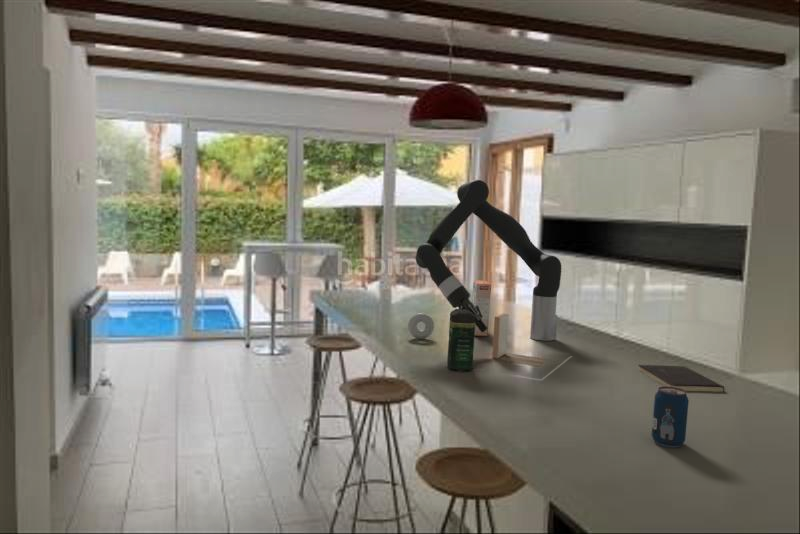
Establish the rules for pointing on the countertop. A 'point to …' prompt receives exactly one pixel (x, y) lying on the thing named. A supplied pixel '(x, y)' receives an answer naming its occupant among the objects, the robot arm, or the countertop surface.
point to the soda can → (670, 416)
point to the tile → (500, 335)
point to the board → (520, 359)
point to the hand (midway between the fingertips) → (485, 330)
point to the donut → (416, 319)
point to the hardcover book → (680, 378)
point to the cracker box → (482, 302)
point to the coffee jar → (461, 340)
